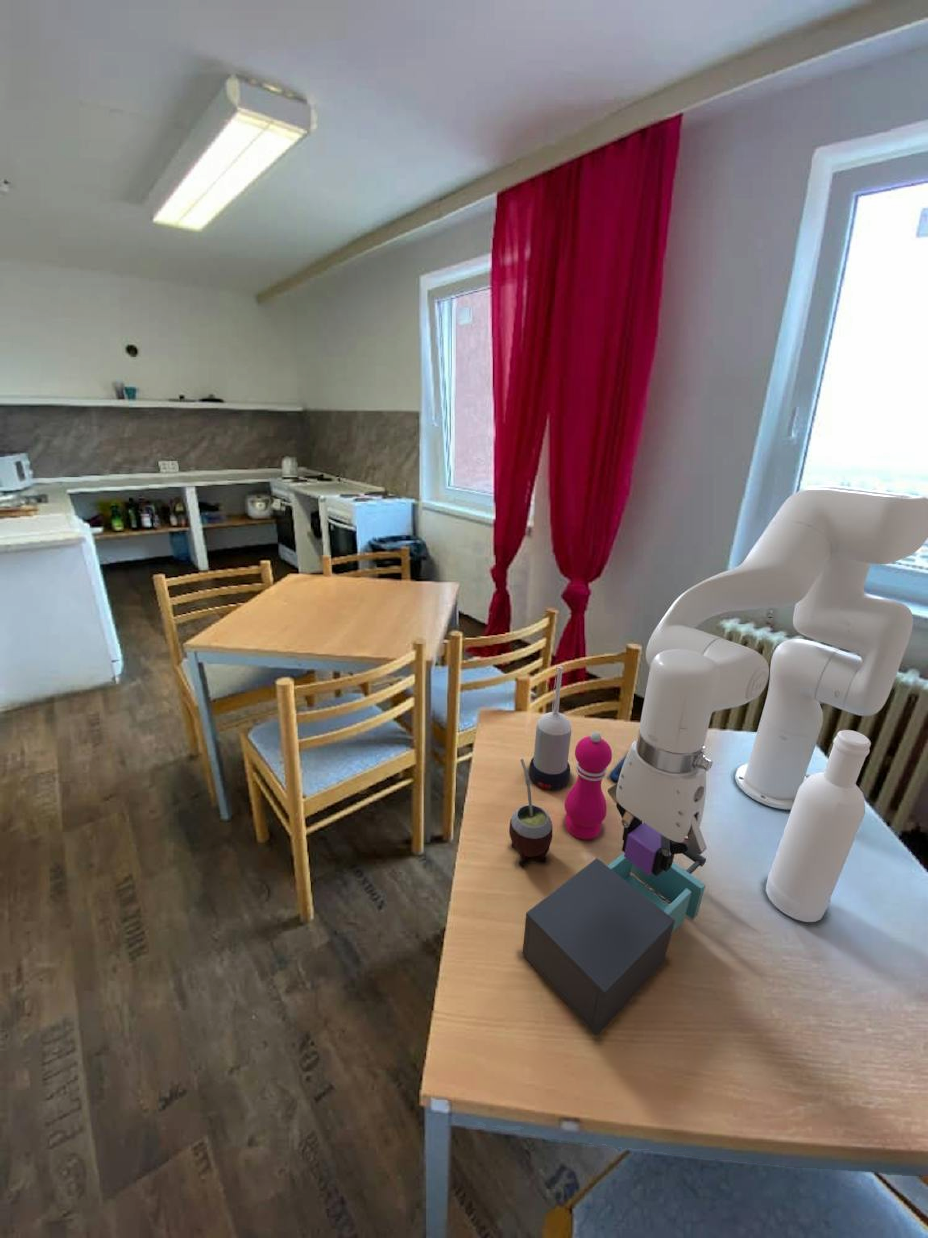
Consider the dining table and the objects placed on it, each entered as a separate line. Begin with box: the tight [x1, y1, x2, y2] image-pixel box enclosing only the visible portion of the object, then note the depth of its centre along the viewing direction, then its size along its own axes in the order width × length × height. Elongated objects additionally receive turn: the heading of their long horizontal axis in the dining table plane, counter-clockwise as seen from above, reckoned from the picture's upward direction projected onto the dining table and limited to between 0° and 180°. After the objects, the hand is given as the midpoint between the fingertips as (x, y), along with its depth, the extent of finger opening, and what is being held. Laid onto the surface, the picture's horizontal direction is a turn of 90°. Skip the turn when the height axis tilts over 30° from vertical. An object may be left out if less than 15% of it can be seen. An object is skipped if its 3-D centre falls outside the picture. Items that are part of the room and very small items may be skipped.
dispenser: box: [521, 857, 675, 1037], centre depth 69 cm, size 15×13×8 cm
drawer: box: [607, 852, 707, 934], centre depth 76 cm, size 19×11×6 cm, turn 129°
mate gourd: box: [508, 758, 554, 867], centre depth 84 cm, size 8×8×15 cm
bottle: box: [765, 729, 872, 923], centre depth 74 cm, size 8×8×30 cm
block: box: [623, 822, 661, 875], centre depth 70 cm, size 4×4×4 cm
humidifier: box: [528, 665, 572, 791], centre depth 100 cm, size 8×8×25 cm
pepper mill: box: [564, 731, 613, 841], centre depth 89 cm, size 7×7×20 cm
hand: (645, 857), depth 71 cm, fingers closed on block, 4 cm apart
